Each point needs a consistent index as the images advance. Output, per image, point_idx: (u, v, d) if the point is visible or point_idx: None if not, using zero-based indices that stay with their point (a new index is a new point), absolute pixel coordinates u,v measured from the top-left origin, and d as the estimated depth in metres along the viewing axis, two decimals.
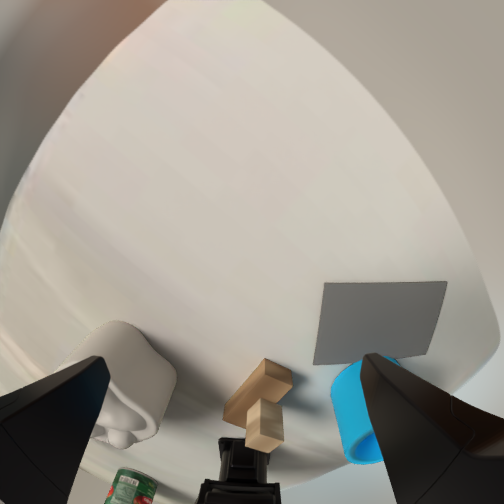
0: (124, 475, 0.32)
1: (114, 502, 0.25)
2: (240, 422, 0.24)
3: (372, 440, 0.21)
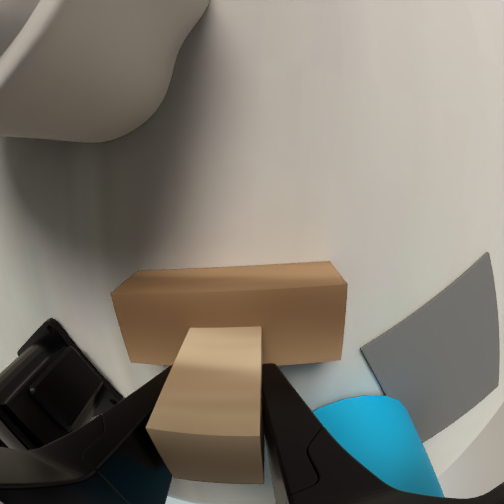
0: None
1: None
2: (138, 336, 0.09)
3: None
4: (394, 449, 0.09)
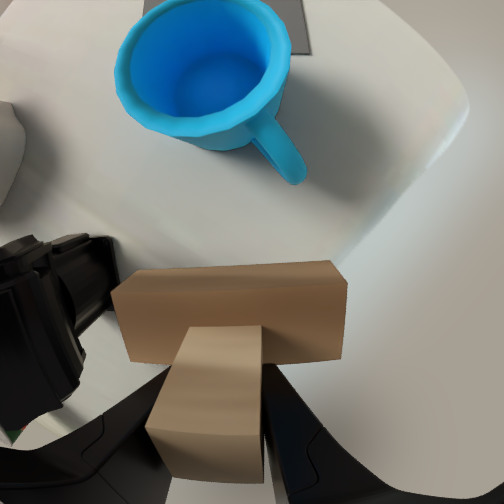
0: None
1: None
2: (137, 335, 0.09)
3: None
4: None
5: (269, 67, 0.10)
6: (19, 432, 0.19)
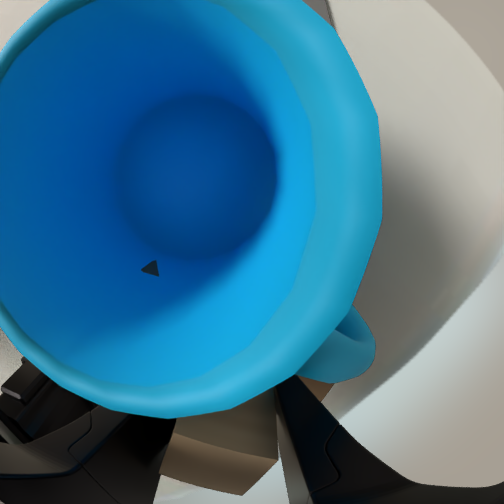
0: None
1: None
2: None
3: (184, 314, 0.06)
4: None
5: (318, 225, 0.03)
6: None
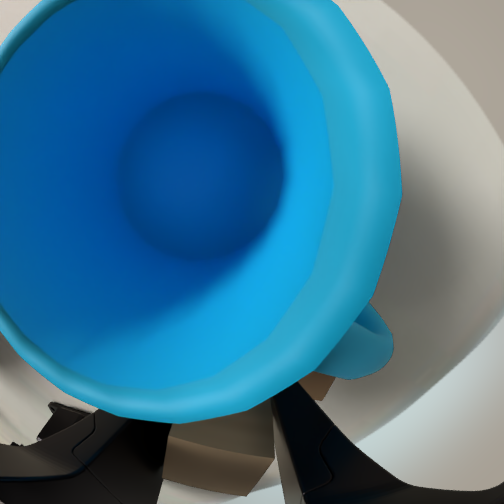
0: None
1: None
2: None
3: (194, 313, 0.06)
4: None
5: (336, 201, 0.03)
6: None
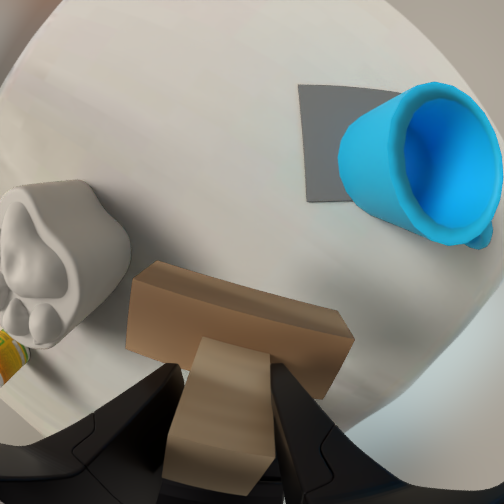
0: None
1: None
2: (145, 327, 0.09)
3: (440, 218, 0.13)
4: (363, 125, 0.14)
5: (495, 178, 0.10)
6: None
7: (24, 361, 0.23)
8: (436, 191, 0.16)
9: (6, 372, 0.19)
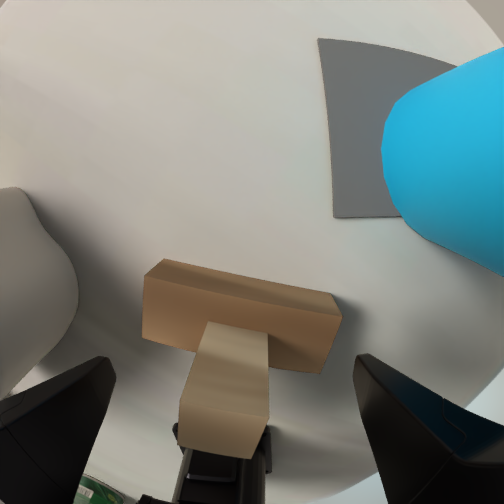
0: None
1: None
2: (157, 317, 0.11)
3: None
4: (435, 95, 0.06)
5: None
6: None
7: None
8: None
9: None
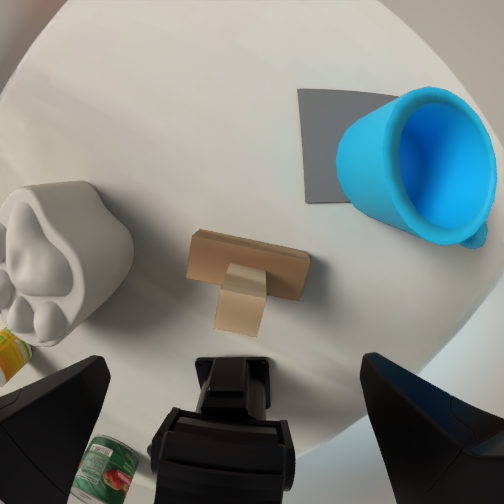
0: (96, 444, 0.27)
1: (80, 475, 0.20)
2: (198, 262, 0.19)
3: (434, 218, 0.14)
4: (360, 129, 0.14)
5: (489, 179, 0.10)
6: None
7: (26, 360, 0.24)
8: (432, 192, 0.16)
9: (8, 370, 0.20)
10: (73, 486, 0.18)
